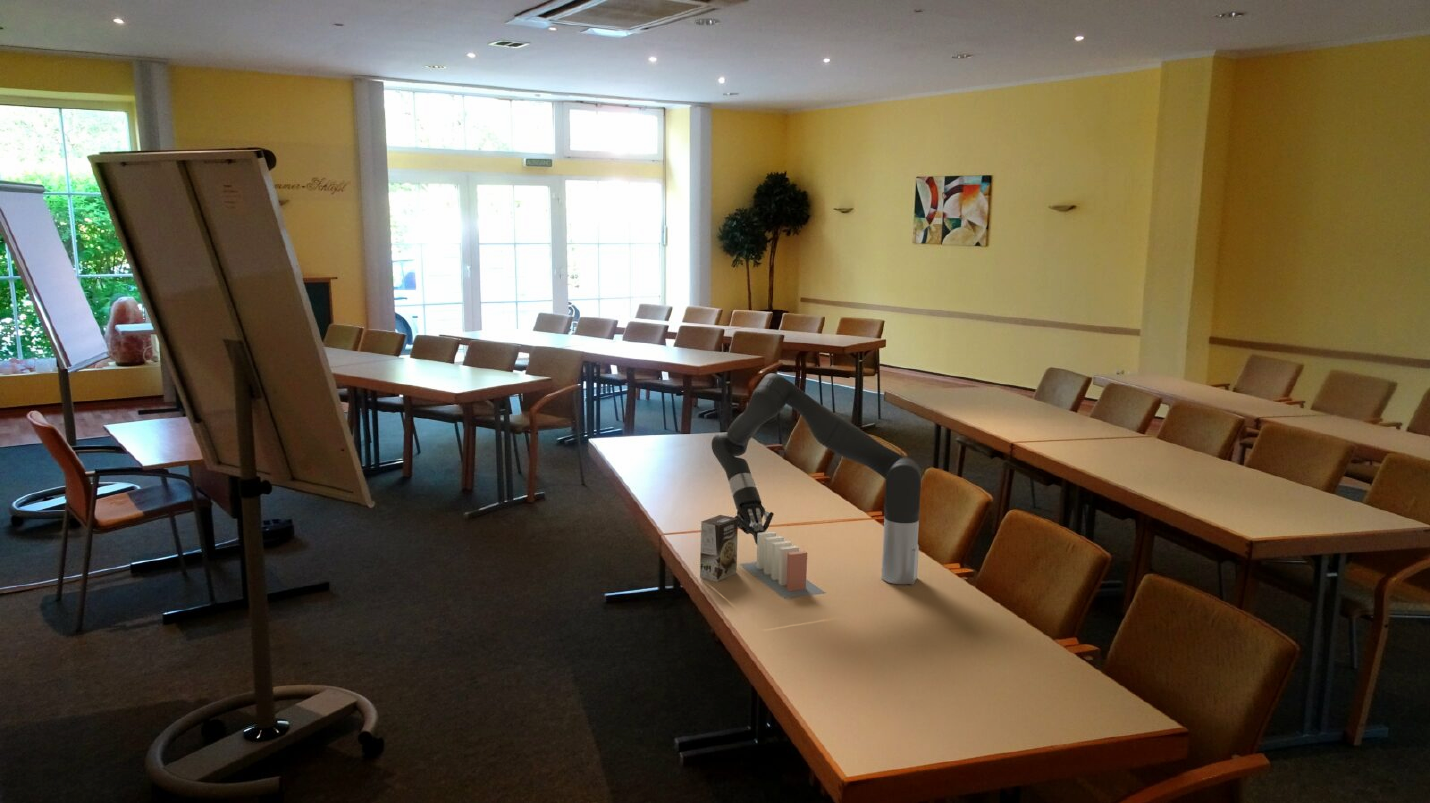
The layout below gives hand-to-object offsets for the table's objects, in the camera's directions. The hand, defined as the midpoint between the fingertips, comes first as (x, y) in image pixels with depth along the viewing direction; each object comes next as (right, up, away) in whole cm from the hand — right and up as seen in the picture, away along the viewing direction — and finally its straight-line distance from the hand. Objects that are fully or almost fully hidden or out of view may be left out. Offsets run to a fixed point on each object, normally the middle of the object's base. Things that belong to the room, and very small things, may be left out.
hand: (761, 544), depth 271 cm
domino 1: (+1, -6, -2) cm, 6 cm away
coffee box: (-12, -8, -8) cm, 17 cm away
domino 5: (+8, -9, -18) cm, 22 cm away
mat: (+5, -8, -10) cm, 13 cm away
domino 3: (+5, -7, -10) cm, 13 cm away
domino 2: (+3, -7, -6) cm, 9 cm away
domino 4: (+6, -8, -14) cm, 17 cm away
